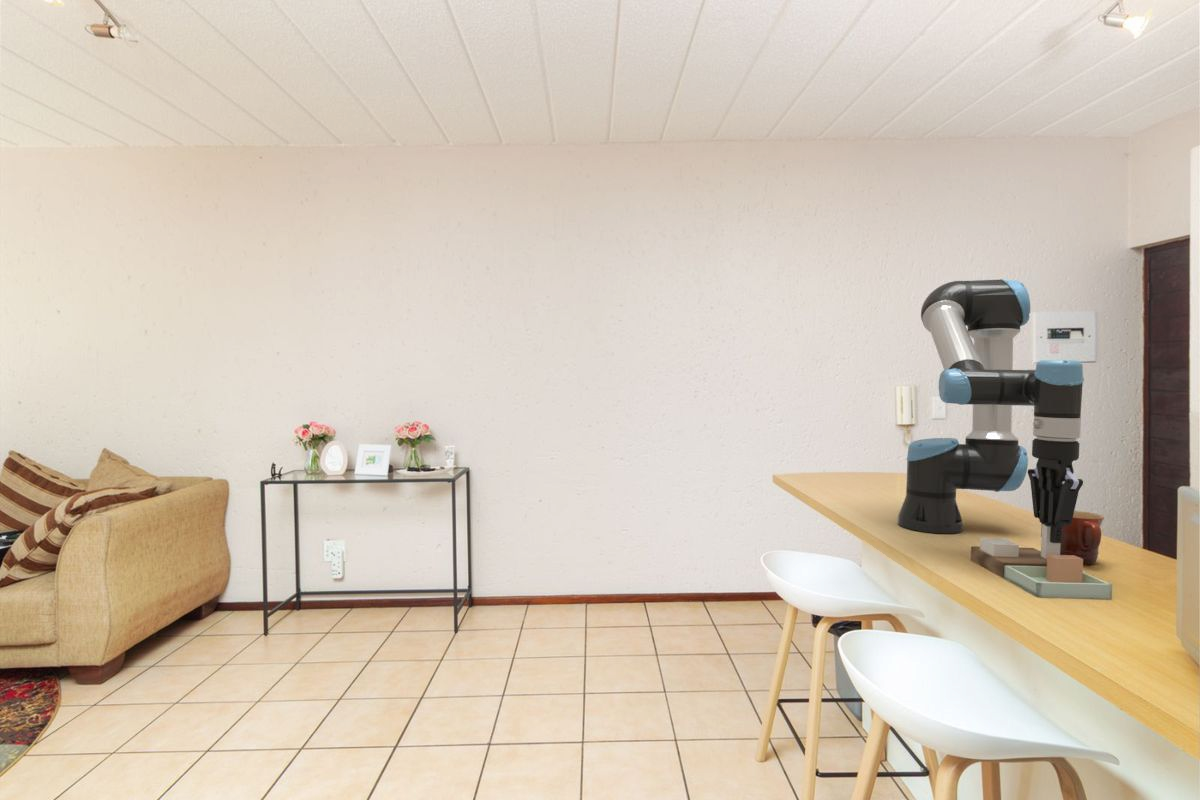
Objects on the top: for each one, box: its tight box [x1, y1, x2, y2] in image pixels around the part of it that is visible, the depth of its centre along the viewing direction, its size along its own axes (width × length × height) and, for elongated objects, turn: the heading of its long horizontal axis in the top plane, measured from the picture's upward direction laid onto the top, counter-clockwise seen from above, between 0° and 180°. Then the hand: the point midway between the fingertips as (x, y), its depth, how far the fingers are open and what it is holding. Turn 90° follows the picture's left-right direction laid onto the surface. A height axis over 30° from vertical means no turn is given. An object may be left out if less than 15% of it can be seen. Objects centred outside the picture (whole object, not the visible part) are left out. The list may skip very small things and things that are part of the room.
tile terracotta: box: [1046, 555, 1084, 583], centre depth 122 cm, size 5×5×2 cm
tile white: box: [979, 537, 1020, 557], centre depth 133 cm, size 5×5×2 cm
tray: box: [1003, 565, 1113, 600], centre depth 121 cm, size 10×13×3 cm
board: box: [970, 546, 1047, 579], centre depth 132 cm, size 12×13×3 cm
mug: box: [1060, 510, 1105, 566], centre depth 137 cm, size 12×9×10 cm
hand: (1050, 557), depth 126 cm, fingers closed
